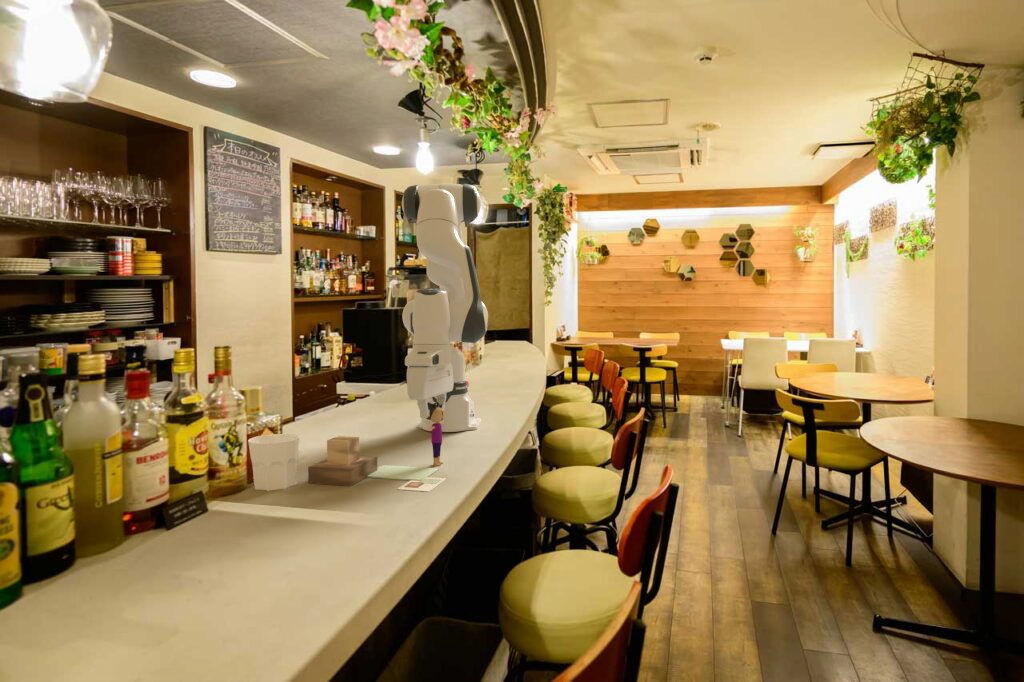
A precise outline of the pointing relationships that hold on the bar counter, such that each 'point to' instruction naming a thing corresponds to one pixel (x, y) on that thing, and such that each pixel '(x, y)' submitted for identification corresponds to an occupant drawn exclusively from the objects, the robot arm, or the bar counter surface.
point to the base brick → (342, 471)
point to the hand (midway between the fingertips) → (432, 414)
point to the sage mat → (402, 472)
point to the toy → (436, 430)
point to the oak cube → (343, 450)
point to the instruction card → (422, 484)
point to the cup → (274, 460)
